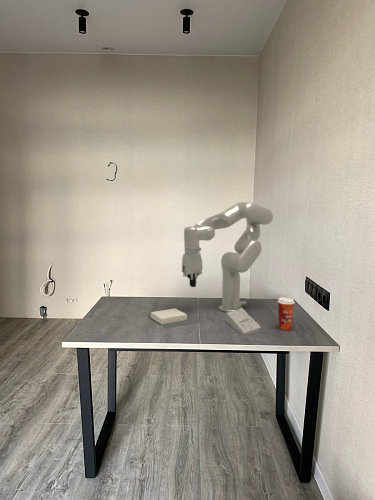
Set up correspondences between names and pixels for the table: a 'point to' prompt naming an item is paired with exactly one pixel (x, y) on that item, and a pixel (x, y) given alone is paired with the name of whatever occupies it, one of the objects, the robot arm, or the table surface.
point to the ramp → (242, 322)
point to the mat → (190, 319)
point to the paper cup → (285, 313)
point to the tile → (168, 316)
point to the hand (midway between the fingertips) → (192, 286)
